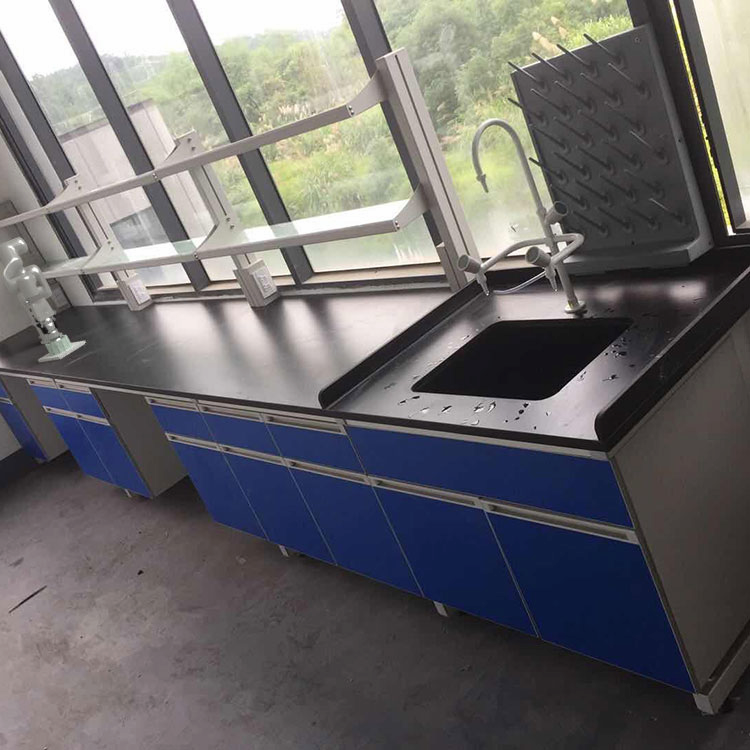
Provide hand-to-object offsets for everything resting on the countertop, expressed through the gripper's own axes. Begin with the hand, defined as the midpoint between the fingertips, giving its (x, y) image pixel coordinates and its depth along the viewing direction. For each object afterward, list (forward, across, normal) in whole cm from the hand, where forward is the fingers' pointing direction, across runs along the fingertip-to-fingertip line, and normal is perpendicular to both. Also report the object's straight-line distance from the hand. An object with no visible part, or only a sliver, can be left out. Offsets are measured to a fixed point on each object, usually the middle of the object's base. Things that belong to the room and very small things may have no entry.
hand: (51, 330), depth 411 cm
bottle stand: (+13, 0, 0) cm, 13 cm away
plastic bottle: (+10, 0, 0) cm, 10 cm away
